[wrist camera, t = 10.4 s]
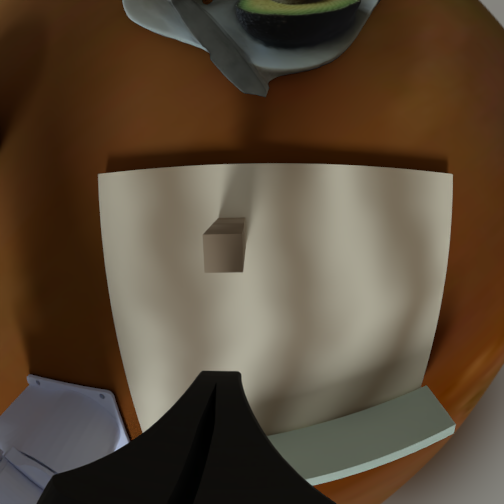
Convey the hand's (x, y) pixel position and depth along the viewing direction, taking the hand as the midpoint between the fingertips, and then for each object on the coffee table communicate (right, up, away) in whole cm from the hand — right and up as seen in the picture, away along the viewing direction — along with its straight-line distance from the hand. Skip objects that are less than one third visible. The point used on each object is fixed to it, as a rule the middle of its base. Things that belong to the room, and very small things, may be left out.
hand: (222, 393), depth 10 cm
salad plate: (+2, +24, +5) cm, 24 cm away
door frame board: (+3, -2, +10) cm, 11 cm away
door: (+7, -8, +10) cm, 15 cm away
